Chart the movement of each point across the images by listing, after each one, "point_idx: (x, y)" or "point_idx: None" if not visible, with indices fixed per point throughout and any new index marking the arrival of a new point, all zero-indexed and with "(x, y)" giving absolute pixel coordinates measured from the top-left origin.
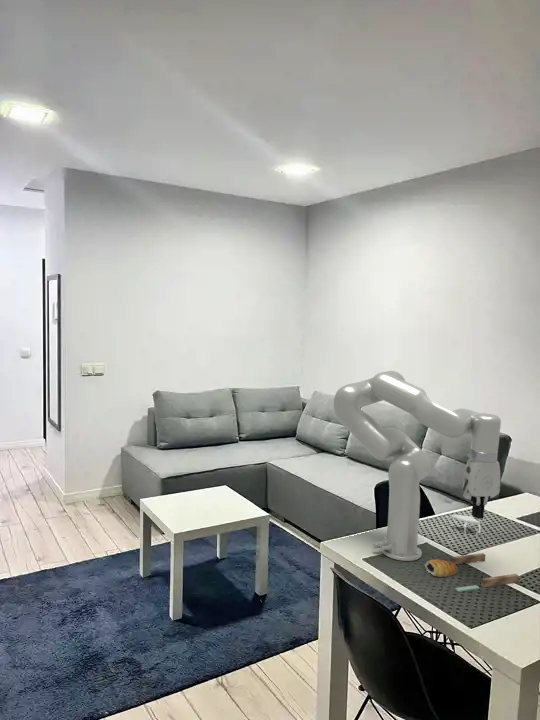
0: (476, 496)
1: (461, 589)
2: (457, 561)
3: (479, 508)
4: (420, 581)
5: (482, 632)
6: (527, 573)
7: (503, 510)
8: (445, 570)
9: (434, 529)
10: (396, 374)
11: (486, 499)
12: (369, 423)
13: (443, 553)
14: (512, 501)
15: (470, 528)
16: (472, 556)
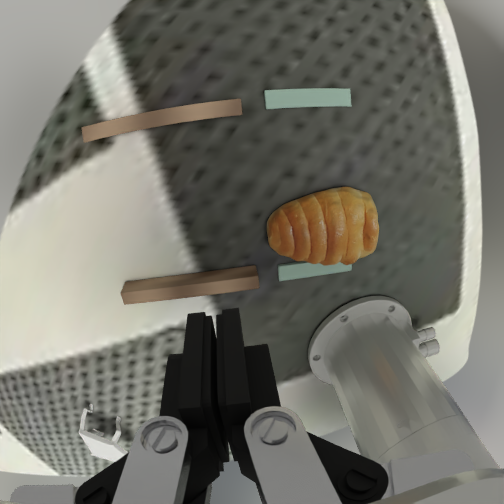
0: (438, 486)
1: (335, 93)
2: (237, 273)
3: (247, 380)
4: (415, 177)
5: None
6: (32, 189)
7: (19, 455)
8: (340, 195)
9: None
10: None
11: (142, 480)
12: None
13: None
14: (4, 466)
15: (98, 430)
16: (174, 286)
